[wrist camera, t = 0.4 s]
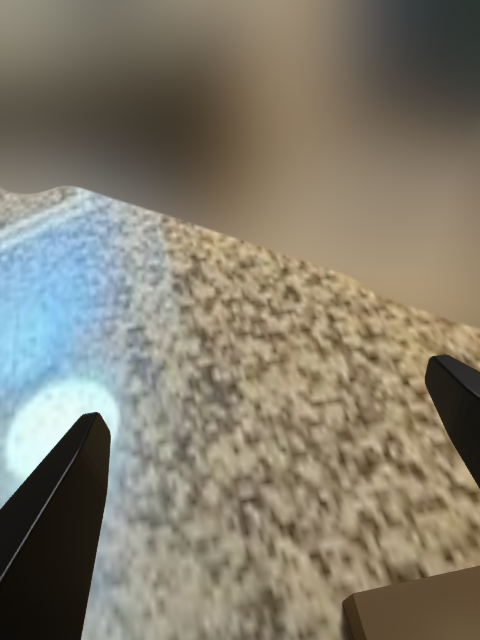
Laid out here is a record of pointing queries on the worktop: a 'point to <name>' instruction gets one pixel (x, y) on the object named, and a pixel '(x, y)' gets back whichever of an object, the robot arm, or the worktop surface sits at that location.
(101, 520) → the robot arm
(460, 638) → the board
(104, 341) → the worktop surface
